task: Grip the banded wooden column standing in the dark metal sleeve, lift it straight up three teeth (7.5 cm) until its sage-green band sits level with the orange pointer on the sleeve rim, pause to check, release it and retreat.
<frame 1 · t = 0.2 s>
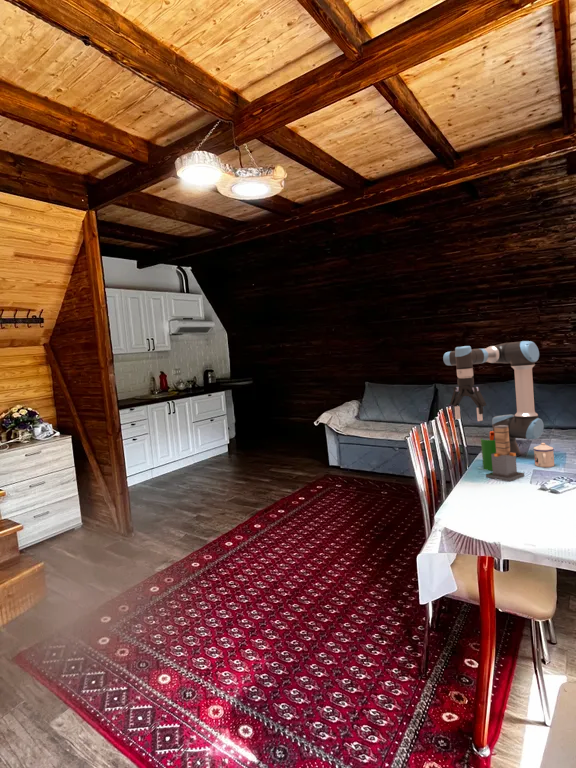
hand: (468, 419, 217), 28 cm above the table, fingers open, 13 cm apart
motor: (494, 469, 227), on the table
stand base: (505, 476, 211), on the table
teacup with lid: (544, 466, 223), on the table
column: (502, 449, 210), point 13 cm above the table, slide at 0.0 cm
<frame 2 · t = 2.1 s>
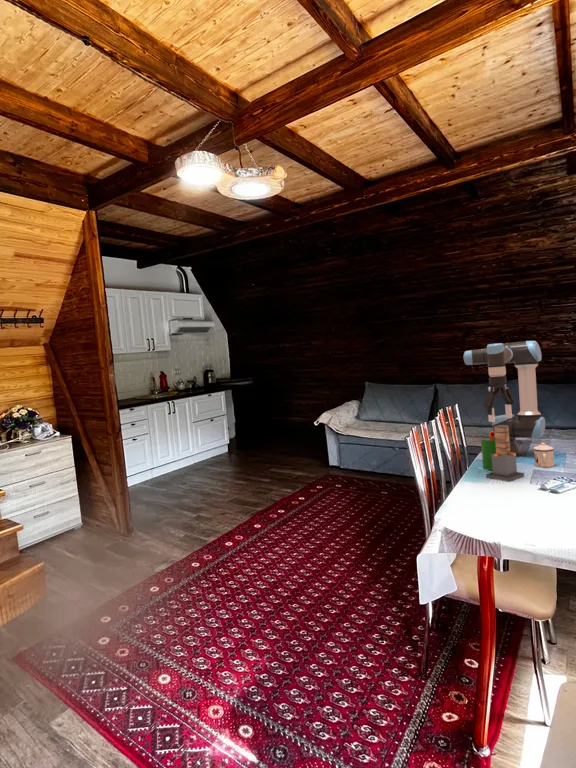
hand: (500, 419, 210), 28 cm above the table, fingers open, 13 cm apart
nothing on the table moved.
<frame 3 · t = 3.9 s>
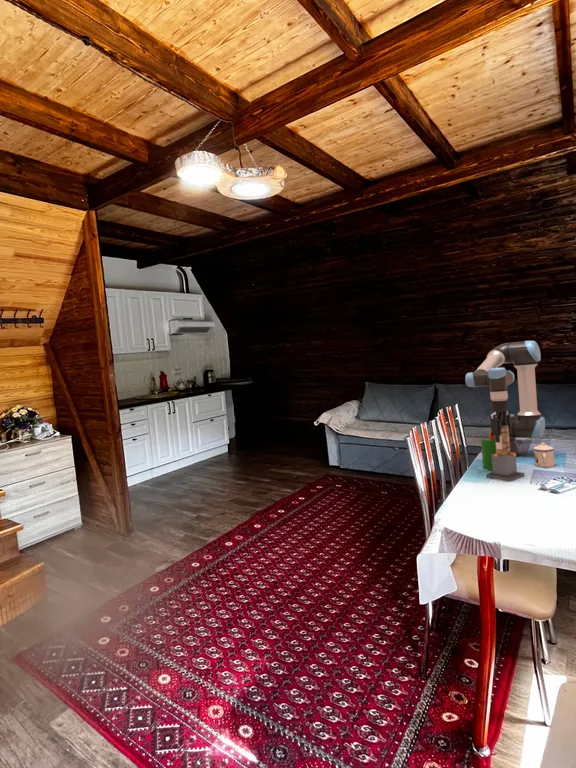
hand: (502, 447, 210), 14 cm above the table, fingers closed on column, 5 cm apart
column: (503, 449, 210), point 13 cm above the table, slide at 0.0 cm, touching gripper
everything else where it was.
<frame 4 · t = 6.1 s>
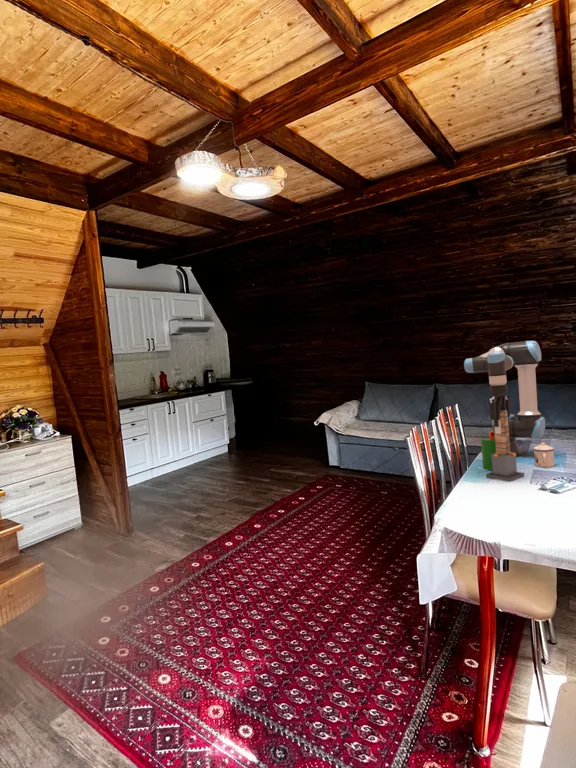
hand: (501, 432, 210), 22 cm above the table, fingers closed on column, 5 cm apart
column: (501, 434, 210), point 21 cm above the table, slide at 7.5 cm, touching gripper
everything else where it was.
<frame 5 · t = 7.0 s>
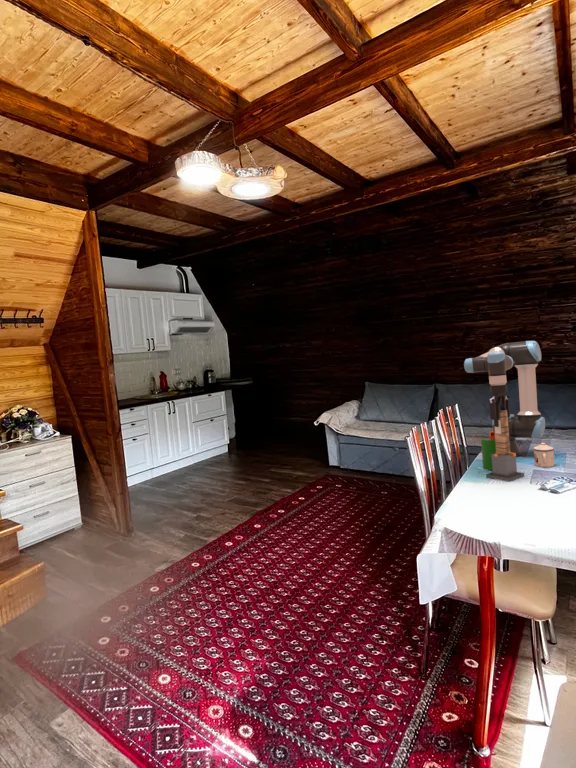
hand: (501, 432, 210), 22 cm above the table, fingers closed on column, 5 cm apart
column: (501, 434, 210), point 21 cm above the table, slide at 7.5 cm, touching gripper
everything else where it was.
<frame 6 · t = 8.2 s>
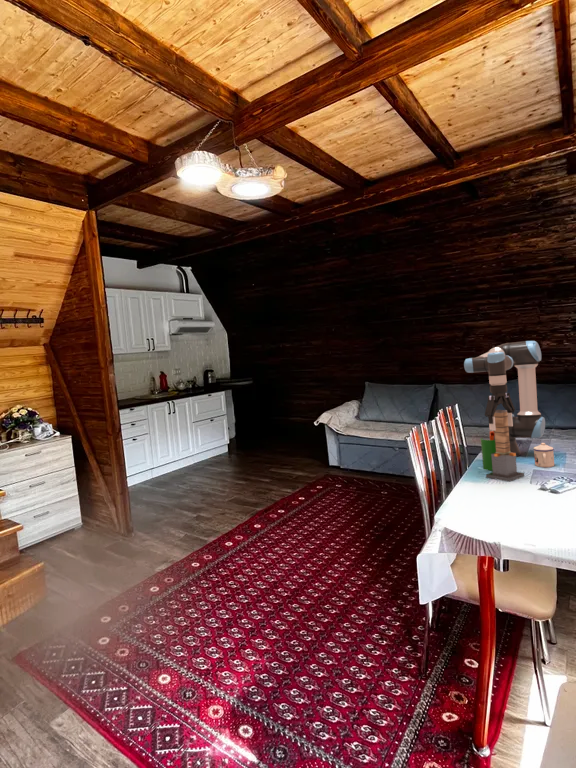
hand: (501, 428, 210), 24 cm above the table, fingers open, 13 cm apart
column: (501, 434, 210), point 21 cm above the table, slide at 7.5 cm
everything else where it was.
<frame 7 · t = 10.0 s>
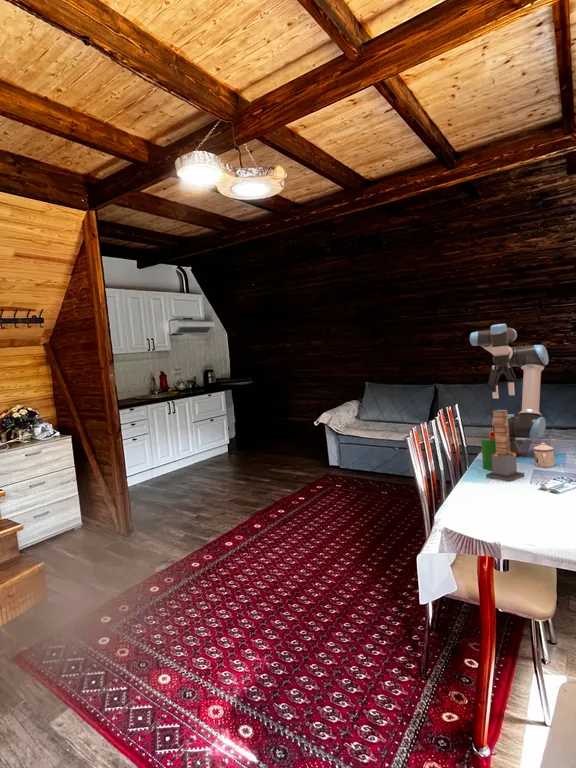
hand: (503, 396, 221), 37 cm above the table, fingers open, 13 cm apart
nothing on the table moved.
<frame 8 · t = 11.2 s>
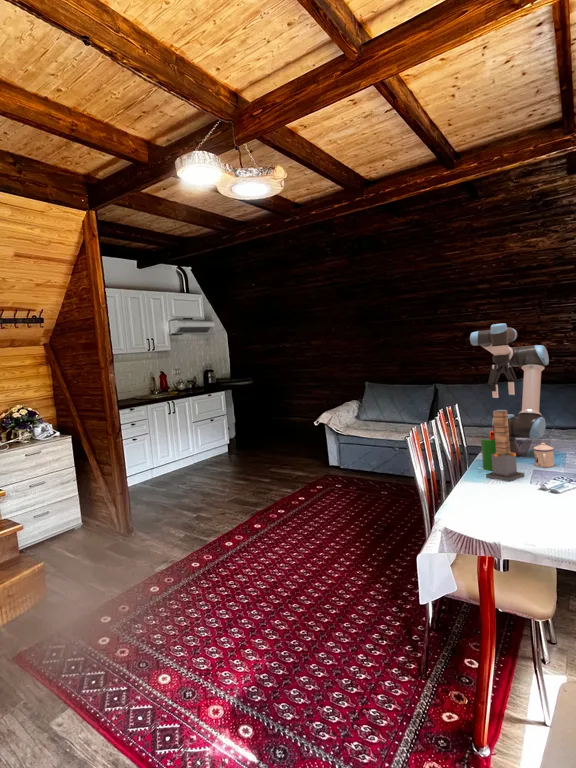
hand: (503, 396, 221), 38 cm above the table, fingers open, 13 cm apart
nothing on the table moved.
at the end: column slide at 7.5 cm; the gripper is holding nothing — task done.
